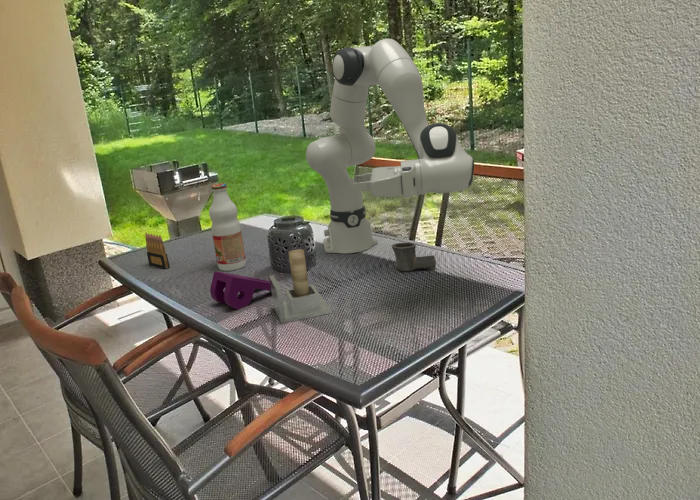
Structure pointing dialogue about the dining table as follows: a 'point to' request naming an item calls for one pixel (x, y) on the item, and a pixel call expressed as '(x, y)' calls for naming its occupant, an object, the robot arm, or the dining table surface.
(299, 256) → the tan wooden cylinder
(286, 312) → the cup bracket
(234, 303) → the mounting bracket
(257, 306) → the dining table surface
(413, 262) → the pipe
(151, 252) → the ammunition clip
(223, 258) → the fruit juice
